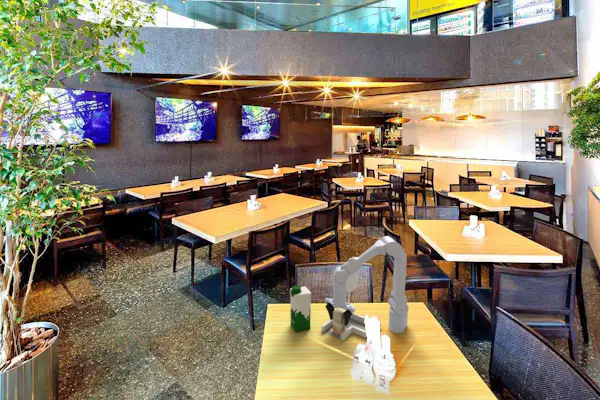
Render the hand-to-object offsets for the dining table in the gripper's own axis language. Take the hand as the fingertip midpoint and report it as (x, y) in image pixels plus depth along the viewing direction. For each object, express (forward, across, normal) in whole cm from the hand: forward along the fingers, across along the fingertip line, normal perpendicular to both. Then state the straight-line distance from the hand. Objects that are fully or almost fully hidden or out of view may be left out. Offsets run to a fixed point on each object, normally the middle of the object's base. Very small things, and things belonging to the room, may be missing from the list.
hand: (339, 322), depth 141 cm
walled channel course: (+5, +4, +4) cm, 7 cm away
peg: (+4, 0, 0) cm, 4 cm away
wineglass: (+5, -7, +21) cm, 23 cm away
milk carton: (+5, -16, -8) cm, 19 cm away
